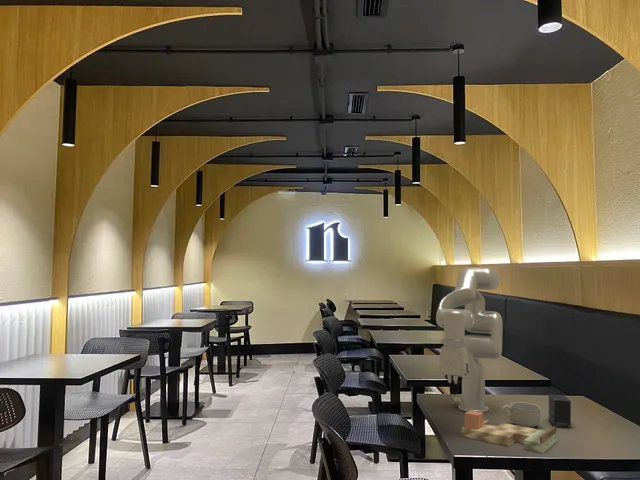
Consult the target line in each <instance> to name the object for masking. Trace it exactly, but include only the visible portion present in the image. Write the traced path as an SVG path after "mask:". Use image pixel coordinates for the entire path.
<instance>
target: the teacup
mask: <svg viewBox="0 0 640 480" xmlns="http://www.w3.org/2000/svg"><path fill="white" fill-rule="evenodd" d="M506 409H508V410H509V412H510V415H509V414H508V413H506V411H505V410H506ZM501 412H502V414H503V415H504V416H505V417H506V418H508V419H509V421H511V422H513V423H514V425H516V426H522V427H528V428H533V429H535V427H536V426H538V425H539V424H540V419H541V406H539V405H538V404H535V403H533V402H532V403H531V402H524V401H514V402H511V403H510V404H509V405H508V404H505V405H503V406H502V407H501Z"/></svg>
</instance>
